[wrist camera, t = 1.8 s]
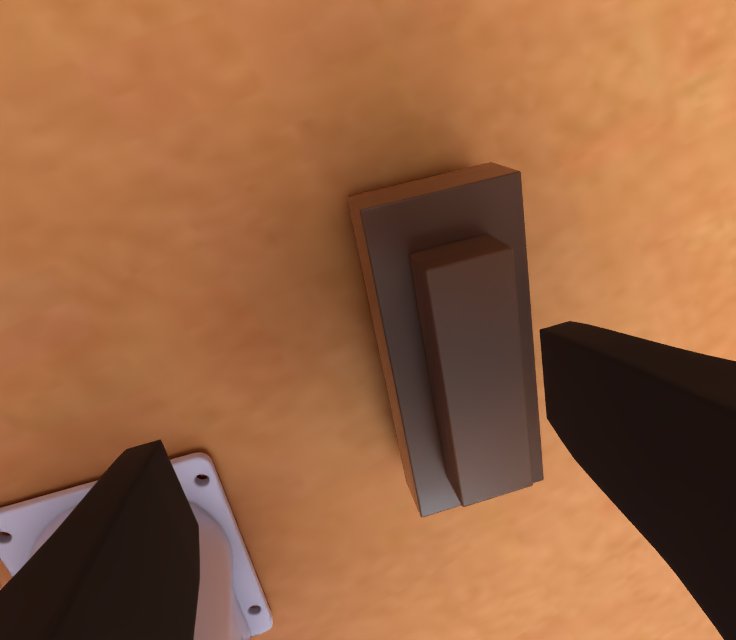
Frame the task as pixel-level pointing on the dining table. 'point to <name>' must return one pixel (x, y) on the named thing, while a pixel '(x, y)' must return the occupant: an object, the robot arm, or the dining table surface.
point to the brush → (454, 331)
